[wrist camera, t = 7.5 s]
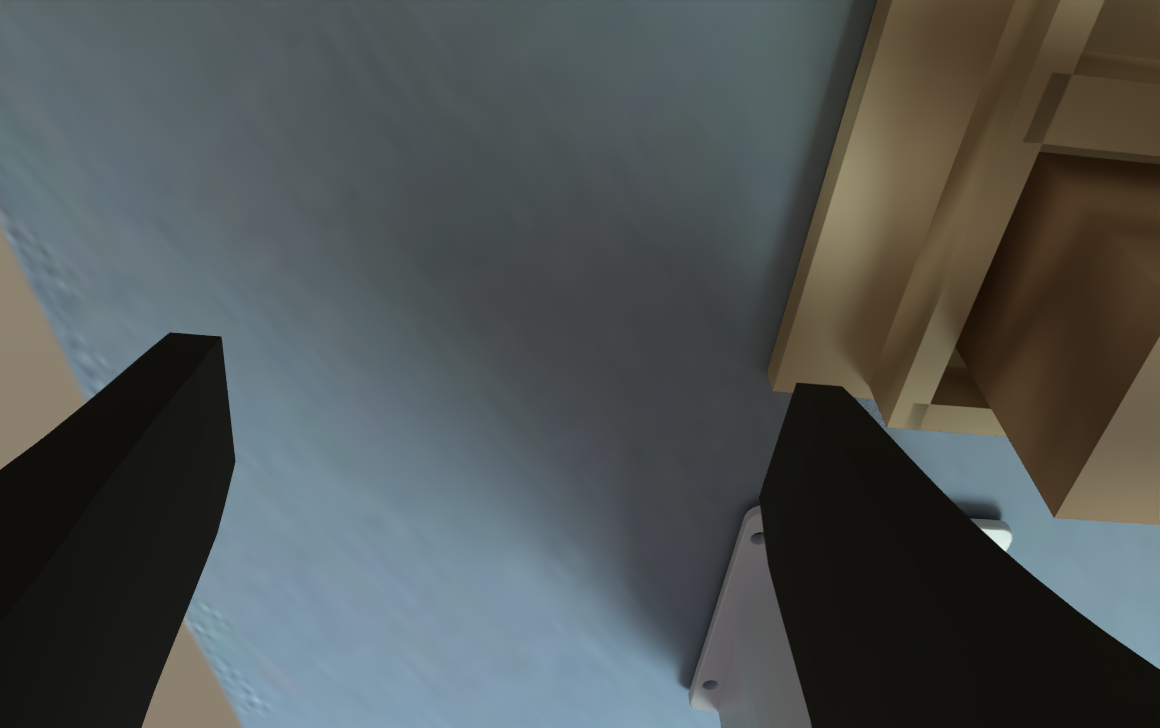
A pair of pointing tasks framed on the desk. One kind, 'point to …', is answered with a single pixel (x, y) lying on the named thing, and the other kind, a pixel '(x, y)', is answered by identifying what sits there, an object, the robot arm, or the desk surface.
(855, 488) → the robot arm
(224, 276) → the desk surface
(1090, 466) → the walnut block
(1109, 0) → the pallet
